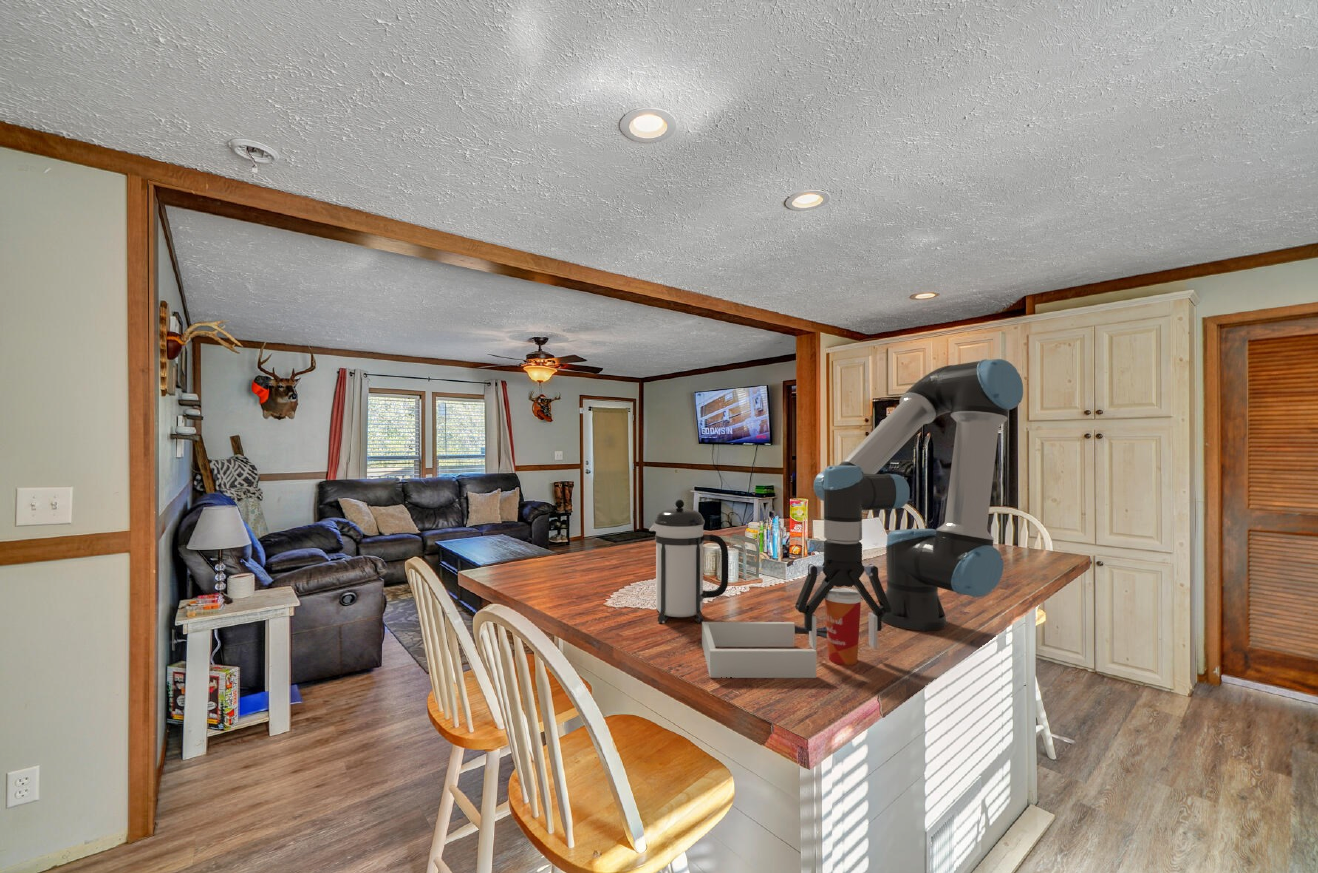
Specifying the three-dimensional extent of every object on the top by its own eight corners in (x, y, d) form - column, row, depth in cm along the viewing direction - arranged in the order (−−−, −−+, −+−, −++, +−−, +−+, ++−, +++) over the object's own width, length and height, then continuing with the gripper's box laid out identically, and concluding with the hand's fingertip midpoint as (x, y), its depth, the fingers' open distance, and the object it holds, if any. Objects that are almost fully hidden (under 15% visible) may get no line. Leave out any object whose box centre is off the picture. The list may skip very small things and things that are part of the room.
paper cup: (817, 653, 117) (817, 587, 118) (852, 652, 118) (852, 586, 118) (832, 668, 110) (832, 597, 110) (869, 667, 110) (869, 596, 110)
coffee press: (682, 631, 131) (682, 504, 131) (638, 616, 142) (638, 499, 143) (730, 616, 142) (730, 499, 143) (685, 603, 154) (686, 495, 155)
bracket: (776, 623, 139) (776, 612, 139) (838, 627, 136) (838, 616, 136) (778, 644, 125) (778, 631, 125) (847, 648, 122) (847, 636, 122)
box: (793, 644, 122) (793, 622, 122) (816, 677, 105) (816, 651, 105) (701, 644, 122) (702, 621, 122) (710, 677, 105) (710, 651, 105)
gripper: (892, 537, 118) (893, 640, 118) (780, 537, 118) (780, 640, 117) (909, 543, 111) (909, 653, 110) (789, 543, 110) (789, 653, 110)
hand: (842, 646), depth 114 cm, fingers open, 12 cm apart
